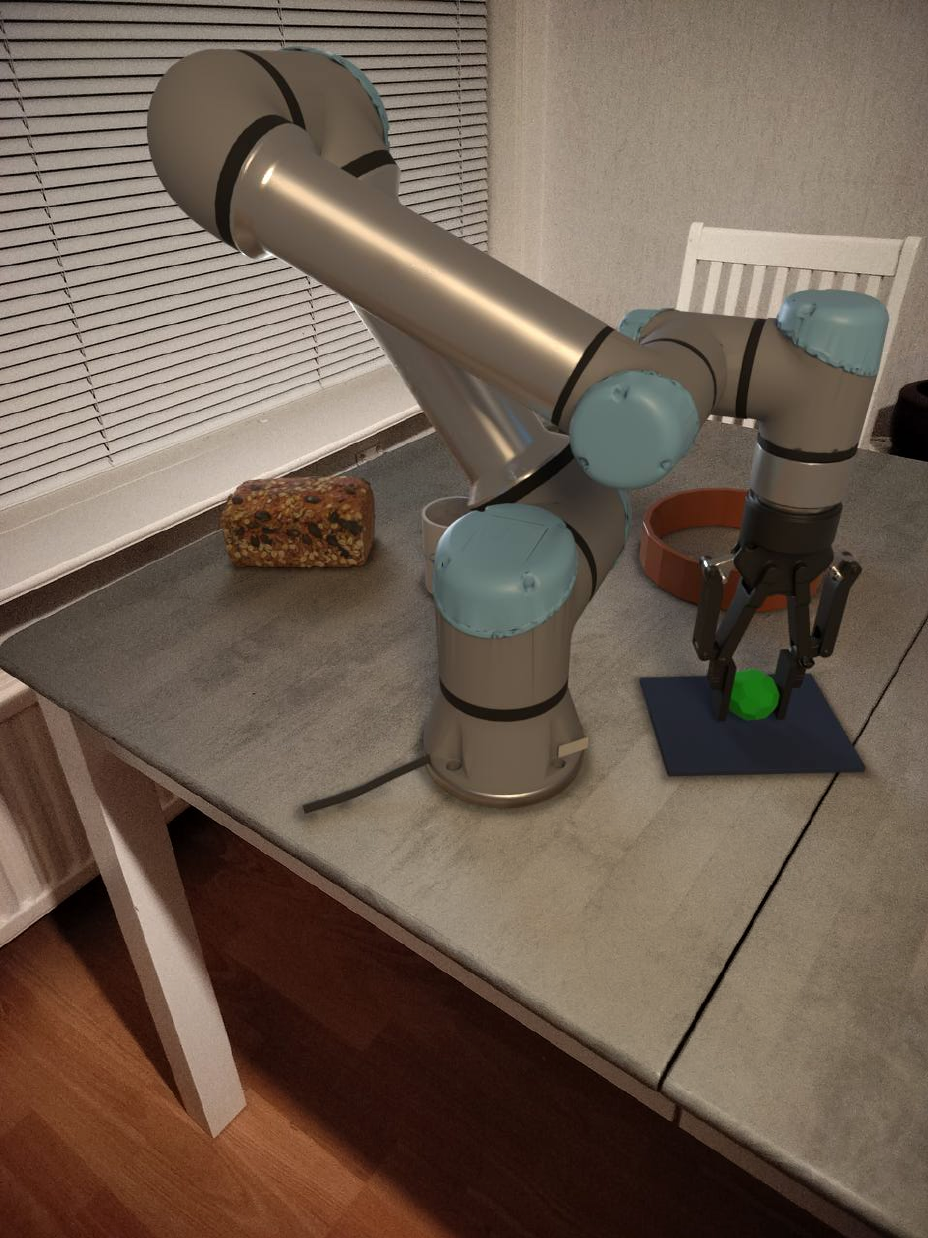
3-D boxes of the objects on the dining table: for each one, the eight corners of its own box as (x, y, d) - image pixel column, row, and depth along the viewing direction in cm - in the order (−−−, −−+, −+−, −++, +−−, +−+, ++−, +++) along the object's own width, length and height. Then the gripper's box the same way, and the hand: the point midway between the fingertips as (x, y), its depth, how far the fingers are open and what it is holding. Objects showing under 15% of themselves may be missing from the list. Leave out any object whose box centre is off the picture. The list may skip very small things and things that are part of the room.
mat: (668, 776, 76) (669, 772, 75) (639, 681, 87) (640, 677, 87) (864, 772, 76) (866, 767, 75) (809, 677, 87) (811, 673, 87)
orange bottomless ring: (659, 614, 98) (664, 574, 95) (626, 525, 116) (630, 489, 113) (850, 609, 98) (861, 569, 95) (786, 521, 116) (794, 485, 113)
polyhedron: (737, 734, 78) (746, 695, 75) (711, 702, 82) (718, 664, 79) (784, 724, 79) (794, 685, 76) (755, 693, 83) (764, 655, 80)
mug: (425, 566, 108) (421, 497, 102) (490, 564, 108) (490, 495, 103) (425, 619, 98) (421, 545, 92) (497, 616, 98) (497, 542, 92)
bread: (379, 533, 116) (373, 467, 110) (366, 572, 107) (358, 503, 101) (250, 531, 117) (237, 466, 112) (226, 569, 109) (211, 500, 103)
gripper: (885, 472, 70) (825, 685, 84) (675, 477, 71) (647, 689, 84) (927, 511, 64) (854, 735, 77) (696, 517, 64) (663, 739, 77)
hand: (747, 711), depth 80 cm, fingers closed on polyhedron, 5 cm apart
